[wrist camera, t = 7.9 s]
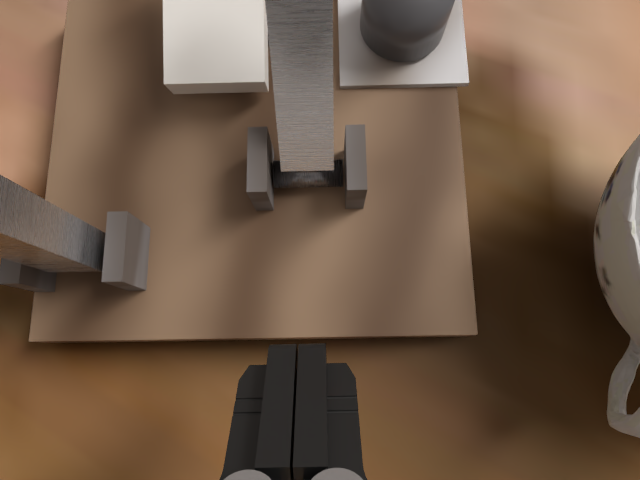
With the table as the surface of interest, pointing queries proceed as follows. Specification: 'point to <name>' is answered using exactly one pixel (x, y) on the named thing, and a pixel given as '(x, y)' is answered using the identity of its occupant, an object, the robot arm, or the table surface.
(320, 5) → the red toggle
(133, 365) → the table surface
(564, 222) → the table surface
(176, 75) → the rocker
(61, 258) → the grey metal bar
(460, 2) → the panel
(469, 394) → the table surface
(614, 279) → the teacup
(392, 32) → the button
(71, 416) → the table surface
